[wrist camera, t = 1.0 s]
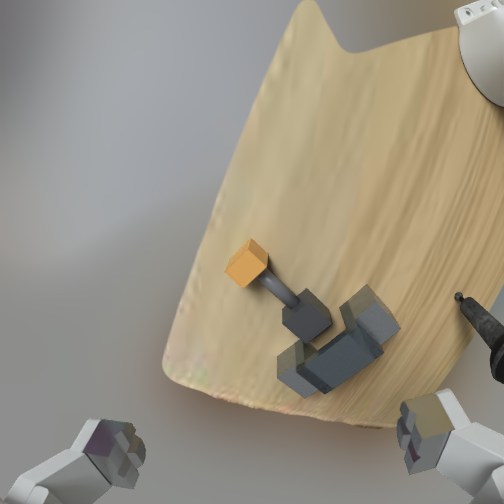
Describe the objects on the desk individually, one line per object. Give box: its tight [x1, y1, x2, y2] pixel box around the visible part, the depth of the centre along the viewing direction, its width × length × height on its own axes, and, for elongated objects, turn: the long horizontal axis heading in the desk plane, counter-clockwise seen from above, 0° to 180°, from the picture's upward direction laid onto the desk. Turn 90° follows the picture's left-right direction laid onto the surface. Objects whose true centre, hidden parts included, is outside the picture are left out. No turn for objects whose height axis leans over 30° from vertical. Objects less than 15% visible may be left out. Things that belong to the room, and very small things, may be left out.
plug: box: [225, 238, 332, 344], centre depth 40 cm, size 4×14×4 cm, turn 46°
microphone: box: [455, 292, 504, 384], centre depth 31 cm, size 7×7×20 cm
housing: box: [277, 284, 401, 398], centre depth 41 cm, size 17×6×7 cm, turn 136°
